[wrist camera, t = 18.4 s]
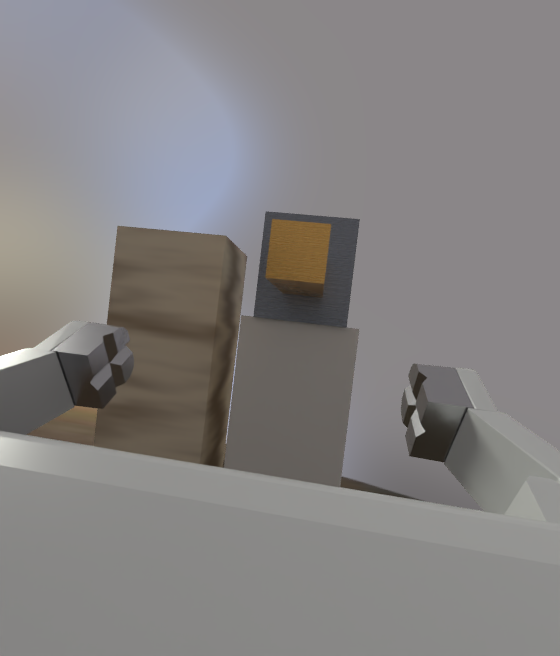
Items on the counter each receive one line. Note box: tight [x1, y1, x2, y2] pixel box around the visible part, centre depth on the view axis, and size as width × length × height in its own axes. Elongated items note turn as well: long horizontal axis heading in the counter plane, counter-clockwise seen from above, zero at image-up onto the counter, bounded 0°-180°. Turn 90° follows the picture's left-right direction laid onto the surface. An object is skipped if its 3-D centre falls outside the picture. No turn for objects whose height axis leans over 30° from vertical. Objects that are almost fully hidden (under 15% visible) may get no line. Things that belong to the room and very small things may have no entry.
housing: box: [254, 212, 359, 328], centre depth 25 cm, size 16×7×8 cm, turn 174°
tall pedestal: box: [94, 226, 247, 468], centre depth 32 cm, size 8×9×26 cm
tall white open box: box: [224, 315, 359, 487], centre depth 31 cm, size 8×9×20 cm
